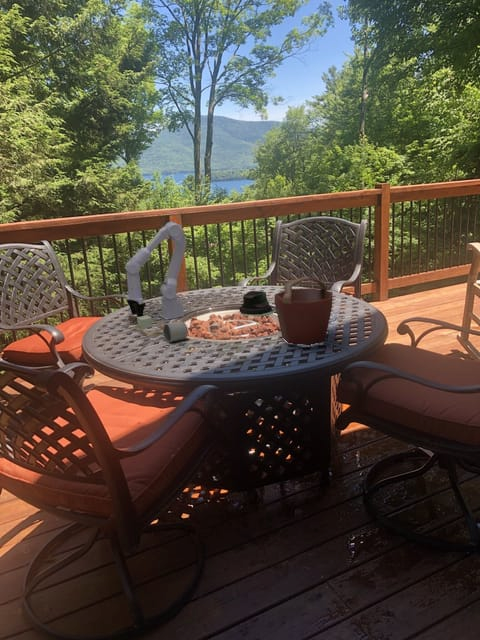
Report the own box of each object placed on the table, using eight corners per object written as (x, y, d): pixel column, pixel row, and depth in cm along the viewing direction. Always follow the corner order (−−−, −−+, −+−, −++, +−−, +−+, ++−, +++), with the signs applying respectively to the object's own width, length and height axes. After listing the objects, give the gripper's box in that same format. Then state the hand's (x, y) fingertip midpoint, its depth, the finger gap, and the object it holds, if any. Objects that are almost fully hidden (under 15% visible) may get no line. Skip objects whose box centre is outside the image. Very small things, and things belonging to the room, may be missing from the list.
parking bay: (159, 325, 217) (159, 323, 216) (169, 332, 207) (169, 329, 207) (137, 330, 212) (137, 327, 211) (147, 337, 202) (147, 334, 202)
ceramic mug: (189, 340, 197) (188, 321, 195) (171, 344, 192) (170, 326, 190) (177, 334, 205) (175, 316, 203) (159, 338, 201) (158, 320, 198)
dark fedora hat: (240, 305, 247) (240, 287, 244) (279, 305, 242) (278, 287, 240) (231, 316, 228) (230, 297, 226) (272, 317, 224) (272, 298, 221)
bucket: (292, 354, 177) (292, 288, 170) (262, 338, 196) (260, 277, 188) (345, 342, 187) (347, 279, 180) (312, 327, 206) (312, 269, 199)
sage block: (148, 323, 221) (147, 315, 220) (152, 326, 217) (151, 317, 216) (137, 325, 219) (136, 317, 217) (141, 328, 215) (140, 319, 213)
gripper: (120, 285, 225) (124, 313, 229) (131, 291, 213) (134, 321, 217) (135, 283, 228) (138, 311, 232) (146, 289, 216) (149, 318, 220)
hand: (137, 315), depth 225 cm, fingers open, 7 cm apart
